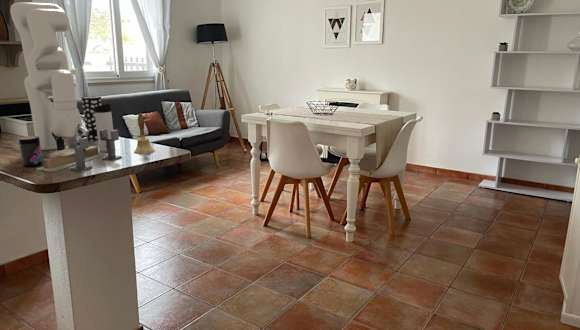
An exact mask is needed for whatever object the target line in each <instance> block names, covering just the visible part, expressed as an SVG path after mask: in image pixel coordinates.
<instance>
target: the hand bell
mask: <svg viewBox="0 0 580 330" xmlns="http://www.w3.org/2000/svg"><path fill="white" fill-rule="evenodd" d="M137 124H138V127H139V133H140V135H139V136H140V137H139V138H138V139H137V144H136V147H135V150H134V151H133V153H134V154H138V155H142V154H144V155H145V154H151V153H154V152H155V149H154V148H153V147H152V145H151V143H150V140H149V138H148V137H146V135H145V119H144V116H143V113H138V115H137Z"/></svg>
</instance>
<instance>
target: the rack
mask: <svg viewBox="0 0 580 330" xmlns="http://www.w3.org/2000/svg"><path fill="white" fill-rule="evenodd" d="M110 132H111V137H108V133H107V129H104V130H100V139H101V140H104V141H106V145H107V153H106V156H103V157H101V160H102V161H106V162H107V161H109V162H115V161H118V160H120V159H122V158H123V157H122V155H116V145H115V146H114V141H115V142H116V141H119V140H120V138H119V129H113V131H110ZM66 140H67V147H68V150H74V151H75V158H76V165H75V166H73V167H71V168H70V167H69V171H70V172H79V173H80V172H81V173H83V172H85V171H88V170H91V169H93V166H92V165H86V162H85V158H84V151H83V150H84V149H88V148H89V147H90V146H89V141H88V138H87V137H85V138H81V139H79V145H77V142H78V141H77V139H76V137H66Z"/></svg>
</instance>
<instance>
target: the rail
mask: <svg viewBox="0 0 580 330" xmlns="http://www.w3.org/2000/svg"><path fill="white" fill-rule="evenodd" d="M99 153H100V152H99V146H89V148H88V149H86V151H85V152H84V158H87V157H91V156H94V155H97V154H99ZM74 161H76V158H75V151H70V152H67V153H63V154H60V155H59V154H58V155H57V156H56V155H55V156H52V157H49V158H44V159H43V164H42V165H43V166H44V168H48V169H52V168H55V167H58V166H61V165H65V164H68V163H71V162H74Z"/></svg>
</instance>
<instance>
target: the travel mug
mask: <svg viewBox="0 0 580 330" xmlns="http://www.w3.org/2000/svg"><path fill="white" fill-rule="evenodd" d="M111 109H112V107H111V103H106V104H102V105H99V106H94V110H95V119H96V127H97V135H98V141H97V142H98V143H97V144H98V151H99V153H101V154H107V145H106V141H104V140H101V139H100V130H104V129H107V133H108V137H111V132H110V131H113V130H114V124H113V117H112V115H113V114H112V110H111ZM115 142H116V141H114V146H115V147H116V143H115Z"/></svg>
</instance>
